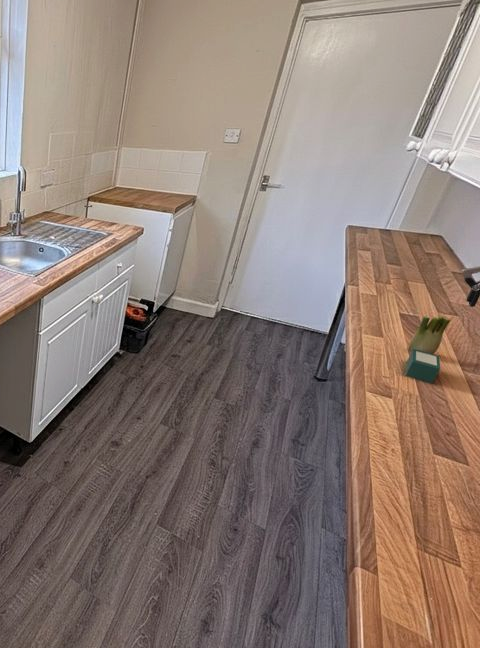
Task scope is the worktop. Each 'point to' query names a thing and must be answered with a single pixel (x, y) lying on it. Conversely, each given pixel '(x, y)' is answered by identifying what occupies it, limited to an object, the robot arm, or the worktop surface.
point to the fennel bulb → (429, 334)
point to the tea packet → (422, 366)
